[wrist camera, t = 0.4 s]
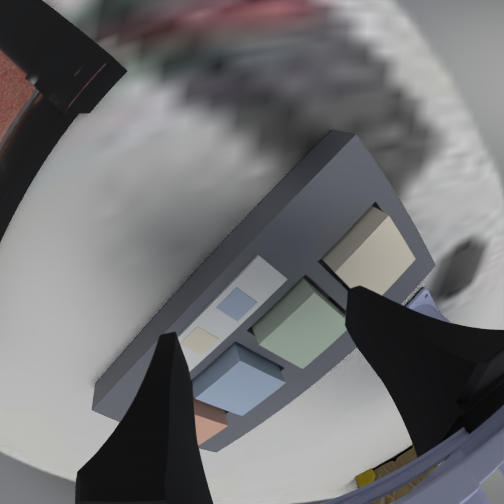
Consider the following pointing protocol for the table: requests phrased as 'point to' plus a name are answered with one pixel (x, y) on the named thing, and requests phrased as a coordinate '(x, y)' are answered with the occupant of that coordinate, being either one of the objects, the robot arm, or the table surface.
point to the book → (42, 90)
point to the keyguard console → (271, 279)
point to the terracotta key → (208, 420)
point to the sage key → (300, 325)
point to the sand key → (370, 253)
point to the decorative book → (387, 469)
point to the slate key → (237, 380)
